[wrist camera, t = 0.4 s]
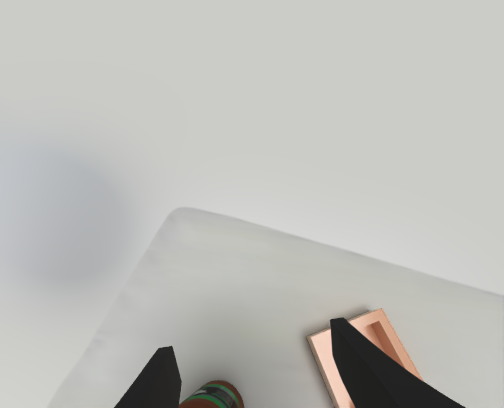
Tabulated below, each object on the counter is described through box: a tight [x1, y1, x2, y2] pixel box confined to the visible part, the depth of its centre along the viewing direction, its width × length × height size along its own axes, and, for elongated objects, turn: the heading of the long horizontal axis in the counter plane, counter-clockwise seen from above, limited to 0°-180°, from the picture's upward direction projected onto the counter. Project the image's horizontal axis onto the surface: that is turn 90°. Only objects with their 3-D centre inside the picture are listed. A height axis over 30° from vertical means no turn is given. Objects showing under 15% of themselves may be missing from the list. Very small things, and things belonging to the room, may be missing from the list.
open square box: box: [307, 308, 423, 408], centre depth 32 cm, size 10×10×4 cm
